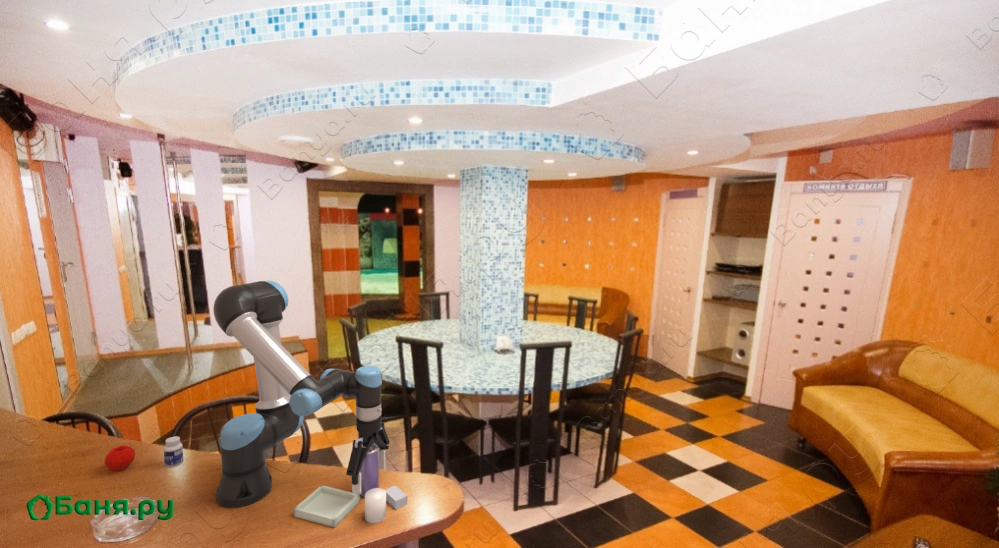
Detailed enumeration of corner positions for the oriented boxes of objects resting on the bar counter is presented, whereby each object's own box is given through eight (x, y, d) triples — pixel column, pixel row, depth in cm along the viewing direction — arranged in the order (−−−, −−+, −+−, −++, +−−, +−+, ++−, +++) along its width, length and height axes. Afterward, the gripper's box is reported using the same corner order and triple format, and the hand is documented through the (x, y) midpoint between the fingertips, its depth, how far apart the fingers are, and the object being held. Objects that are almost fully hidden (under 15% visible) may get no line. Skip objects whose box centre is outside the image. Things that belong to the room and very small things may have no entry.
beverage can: (373, 499, 136) (373, 454, 134) (355, 496, 137) (355, 451, 135) (382, 488, 142) (382, 444, 140) (365, 485, 143) (365, 442, 141)
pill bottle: (160, 466, 149) (158, 441, 148) (175, 458, 154) (173, 434, 153) (173, 468, 148) (171, 444, 146) (187, 460, 153) (185, 436, 152)
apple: (140, 466, 148) (139, 446, 147) (110, 478, 141) (108, 456, 140) (131, 459, 152) (129, 439, 151) (101, 469, 146) (99, 448, 145)
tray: (293, 516, 127) (293, 508, 127) (321, 491, 139) (321, 484, 138) (334, 527, 123) (334, 520, 123) (359, 501, 135) (359, 494, 134)
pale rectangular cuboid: (383, 499, 137) (383, 490, 136) (395, 493, 140) (395, 485, 139) (395, 510, 132) (396, 501, 132) (407, 504, 135) (407, 495, 134)
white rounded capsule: (360, 520, 127) (360, 498, 126) (372, 507, 132) (372, 486, 131) (378, 525, 125) (378, 502, 124) (389, 512, 131) (390, 490, 130)
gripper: (355, 437, 123) (356, 506, 126) (400, 402, 147) (399, 461, 150) (332, 433, 125) (334, 501, 128) (380, 399, 149) (380, 457, 152)
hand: (369, 480), depth 139 cm, fingers open, 13 cm apart
